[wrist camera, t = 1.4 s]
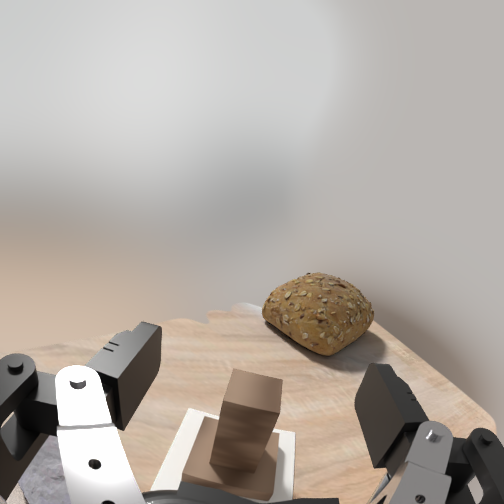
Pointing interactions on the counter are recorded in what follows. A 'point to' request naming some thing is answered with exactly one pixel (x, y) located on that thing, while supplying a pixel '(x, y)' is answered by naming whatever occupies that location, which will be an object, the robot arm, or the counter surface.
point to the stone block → (45, 476)
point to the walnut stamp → (239, 440)
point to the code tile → (183, 445)
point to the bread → (319, 312)
